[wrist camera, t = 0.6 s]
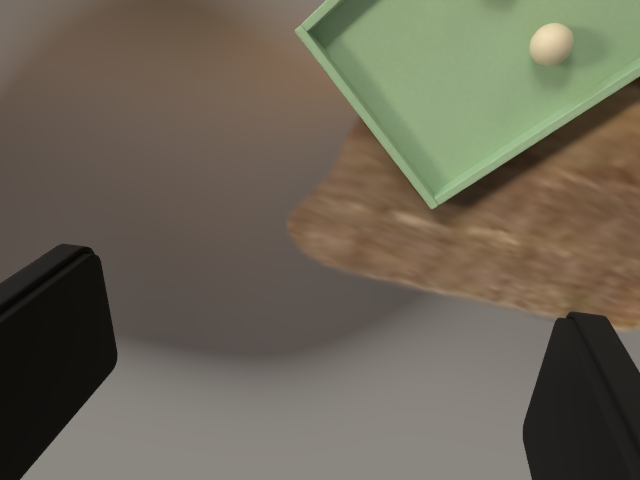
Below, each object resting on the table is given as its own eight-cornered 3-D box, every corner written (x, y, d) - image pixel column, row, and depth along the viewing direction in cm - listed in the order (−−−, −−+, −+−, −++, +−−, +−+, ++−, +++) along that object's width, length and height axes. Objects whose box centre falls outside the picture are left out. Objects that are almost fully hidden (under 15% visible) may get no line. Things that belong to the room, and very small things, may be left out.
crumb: (554, 13, 29) (565, 13, 27) (575, 46, 30) (587, 49, 28) (518, 40, 30) (525, 43, 28) (538, 72, 31) (547, 77, 29)
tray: (613, -265, 24) (628, -287, 23) (746, -5, 28) (768, -6, 26) (300, 29, 33) (294, 30, 31) (431, 200, 36) (431, 210, 34)
